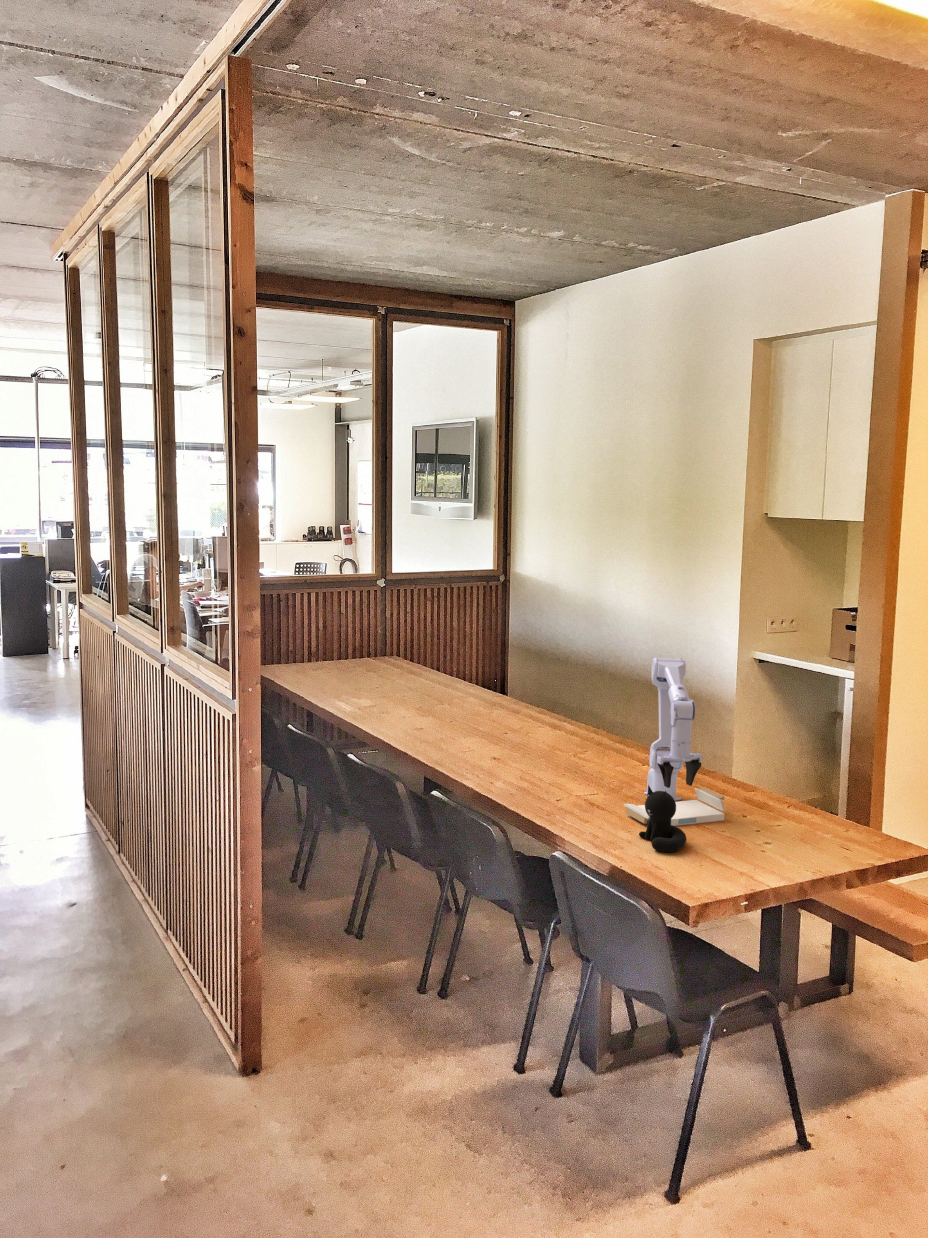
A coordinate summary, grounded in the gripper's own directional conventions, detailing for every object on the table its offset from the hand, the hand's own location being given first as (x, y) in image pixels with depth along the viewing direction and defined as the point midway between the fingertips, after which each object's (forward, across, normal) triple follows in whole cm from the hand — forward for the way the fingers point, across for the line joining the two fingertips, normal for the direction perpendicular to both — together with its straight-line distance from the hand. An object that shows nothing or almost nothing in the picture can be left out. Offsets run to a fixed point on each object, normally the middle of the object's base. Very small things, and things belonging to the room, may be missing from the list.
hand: (678, 786), depth 299 cm
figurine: (+10, -17, -19) cm, 27 cm away
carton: (+9, +1, 0) cm, 9 cm away
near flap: (+6, -12, 0) cm, 14 cm away
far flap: (+5, +11, 0) cm, 12 cm away
